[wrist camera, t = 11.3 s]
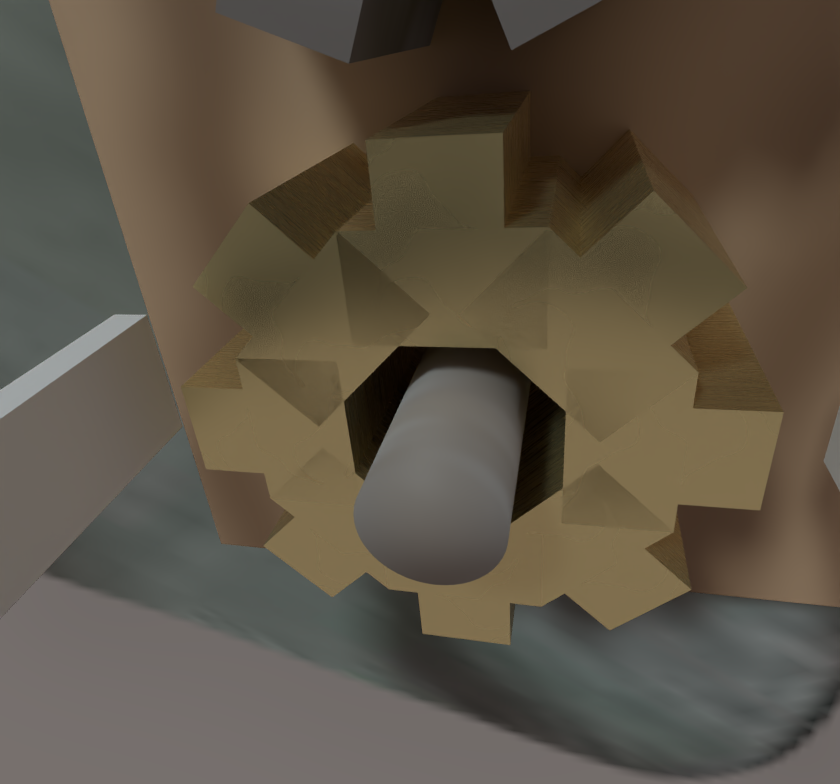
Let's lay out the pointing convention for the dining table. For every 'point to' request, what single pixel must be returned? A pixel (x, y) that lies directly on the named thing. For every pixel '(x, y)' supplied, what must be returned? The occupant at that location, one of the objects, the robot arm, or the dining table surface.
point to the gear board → (549, 135)
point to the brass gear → (490, 328)
